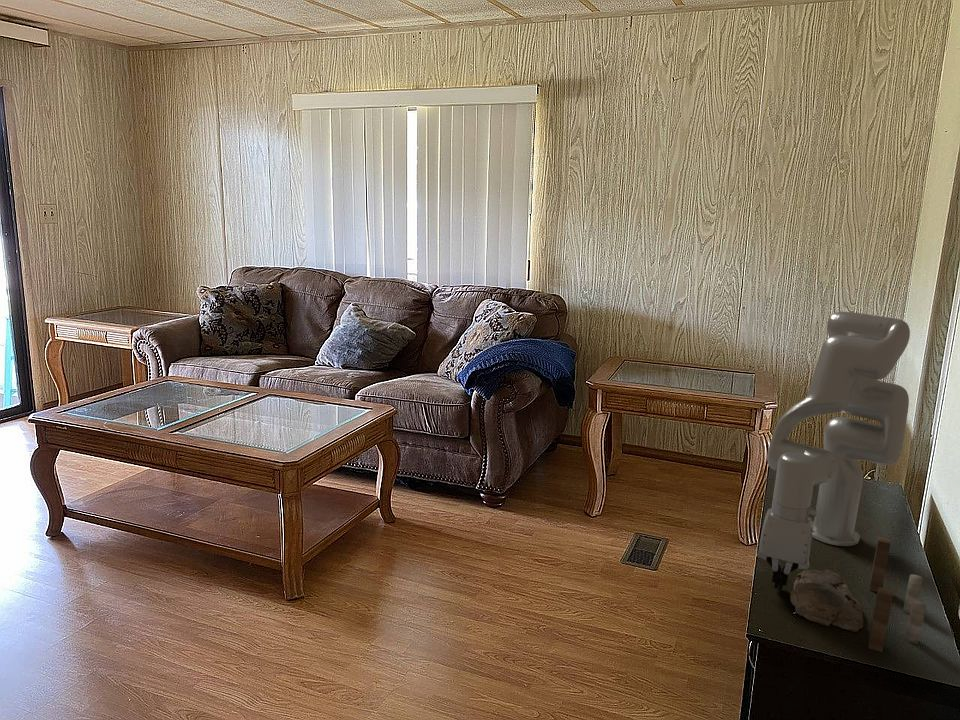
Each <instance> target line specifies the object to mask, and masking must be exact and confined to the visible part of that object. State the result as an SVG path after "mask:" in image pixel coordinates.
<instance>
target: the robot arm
mask: <svg viewBox="0 0 960 720" xmlns="http://www.w3.org/2000/svg"><path fill="white" fill-rule="evenodd" d="M826 324H827V325H826V330H827V334H828V337H827V338H826V339H824V342H823V343H822V345H821V348H820V352H819V355H818V358H817V361H816V365H815V368H814V371H813V374H812V378H811V382H810V384H809V387H808V391H807V394H806V396H805V397H804V398H803V399H802V400H799V402H797V403H795V404H794V405H792V406H791V407H790V408H789V409H787V410H786V411H785V412H784V413H783V414H782V416H781V417H780V418H779V419H778V421H777V423H776V425H775V427H774V430H773V434H772V436H771V439H770V442H769V445H768V449H767V455H766V456H767V457H766V460H767V461H766V462H767V464H768V466H769V468H770V469H771V470H773V471H775V472H776V474H775V481H774V489H773V494H772V495H773V496H772V503H771V508H768V509H767V511H766V514H765V517H764V521H763V524H762V529H761V534H760V535H761V536H760V539H759V545H758V547H759V548H758V551H757V553H756V557H758V558H760V559H762V560H764V561H766V563H768V565H769V566H770V567H771V568H772V569H771V570H772V571H773V572H772V576H771V577H772V578H771V583H774V589H778V590H780V591H782V590H783V587H784V586H785V587H786V586H787V583H788V577H789V574H790V573H792V572H793V571H795V570H797V569H799V570H807V569H809V568H810V561H809V560H810V559H809V557H810V554H811V550H812V549H811V548H812V541H813V540H812V539H815V540H817V541H819V542H821V543H824V544H829V545H833V546H838V547H852V546H856V545H857V544H859V542H860V538H861V536H860V534H859V533H858V532H857V531H856V530H855V527H856V522H857V516H858V511H859V505H860V499H861V494H862V489H863V487H862V486H863V482H864V472H863V468H862V466H861V465H860V462H859V460H861V461H864V462H865V461H866V462H869V463H871V464H877V465H880V466H881V465H882V466H887V467H888V466H893V465H895V464H896V463H897V462H898V461H899V459H900V457H901V454H902V451H903V443H904V439H905V432H906V426H907V420H908V412H909V403H910V398H909V393H908V391H907V389H905V387H903V386H902V385H898V384H896V383H891V382H885V381H880V380H883V379H885V378H887V376H888V375H889V374H890V373H891V372H892V370H893V369H894V368H895V366H896V365H897V362H898V361H899V359H900V358H901V356H902V355H903V354H904V352H905V351H906V348H907V346H908V344H909V341H910V337H911V336H910V335H911V331H910V327H909V324H908V323H907V322H906V321H904V320H902V319H901V318H895V317H888V316H882V315H875V314H874V315H872V314H868V313H860V312H852V311H838V312H834V313H832V314H830V315H829V317H828V319H827V323H826ZM840 412H841V413H844V414H847V415H849V416H854V417H858V418H863V419H867V420H872V421H875V422H879V423H880V424H879V423H875V422H870V421H865V420H861V419H856V418H852V417H846V416H836V417H833V418H831V419H829V420H828V421H827V423H826V424H825V427H824V430H823V448H820V447H816V446H814V445H813V446H812V445H809V444H805V443H803V442H797V441H795V440H794V441H793V440H789V437H790V436H791V433H792V430H793V429H794V428H795V427H796V426H797V425H798V424H799V423H801V422H803V421H804V420H807V419H810V418H812V417H816V416H821V415H827V414H834V413H840ZM817 485H819V488H818V494H817V499H816V500H817V501H816V506H815V507H816V508H815V509H814V508H813V507H812V506H811V505H812V498H813V490H814V486H817ZM812 517H814V519H812ZM780 561H785V565H784V566H783V567H781V563H780Z"/></svg>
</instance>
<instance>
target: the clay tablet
mask: <svg viewBox="0 0 960 720" xmlns="http://www.w3.org/2000/svg"><path fill="white" fill-rule="evenodd" d="M849 588H850V587H849V586H848V584H847V583H846V582H845V580H844V579H843V578H842V577H841V576H840V575H839V574H838V573H837V572H836V571H832V570H830V569H809V568H808V569H803V571H801V572H799V573H798V574H797V575H796V579H795V581H794V582H793V590H791V591H790V602H791V604H792V606H794V608H795V609H794V611H795V612H796V613H797V614H798V615H799V616H802V617H803V618H804V619H806V620H808V621H810V622H812V621H813V623H816V624H819V623H820V625H822V626H827V627H830V625H831V626H833V627H838V628H840V629H842V630H846V631H849V632H855V633H857V632H859V630H860V629H862V628H863V627H864V616H863V615H864V614H863V611H862V610H861V608H862V607H861V606H862V605H861V603H860V601H858V600H857V599H856V598H855V597H854V596H853V595H852V592H851V589H849Z"/></svg>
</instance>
